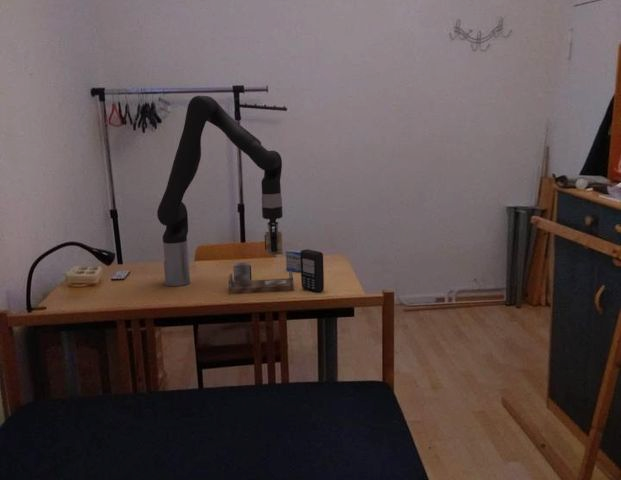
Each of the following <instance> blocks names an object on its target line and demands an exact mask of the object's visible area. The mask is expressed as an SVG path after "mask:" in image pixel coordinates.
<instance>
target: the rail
mask: <svg viewBox="0 0 621 480" xmlns="http://www.w3.org/2000/svg"><path fill="white" fill-rule="evenodd" d="M232 265H233V274H232V273H229V275H228V281H227V282H228V294H229V295H235V294H255V293H258V294H259V293H273V292H274V293H275V292H292V291H294V290H295V289H294V288H295V287H294V275H293V272H292V271H288V277H289V278H274V279H273V278H271V279H270V278H269V279H254V280H253V279H252V265H251V263H250V262H234V263H233V264H232Z"/></svg>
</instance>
